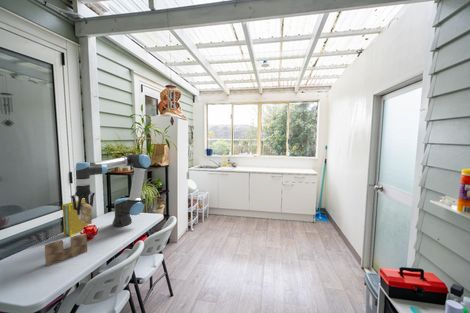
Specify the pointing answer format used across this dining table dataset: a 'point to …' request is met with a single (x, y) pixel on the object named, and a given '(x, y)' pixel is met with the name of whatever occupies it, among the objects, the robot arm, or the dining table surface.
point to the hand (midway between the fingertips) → (83, 218)
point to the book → (71, 219)
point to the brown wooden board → (57, 253)
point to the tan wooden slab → (86, 213)
